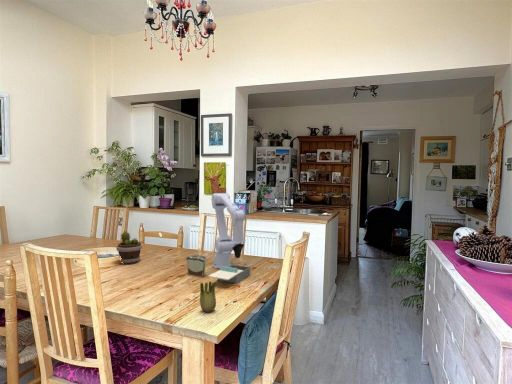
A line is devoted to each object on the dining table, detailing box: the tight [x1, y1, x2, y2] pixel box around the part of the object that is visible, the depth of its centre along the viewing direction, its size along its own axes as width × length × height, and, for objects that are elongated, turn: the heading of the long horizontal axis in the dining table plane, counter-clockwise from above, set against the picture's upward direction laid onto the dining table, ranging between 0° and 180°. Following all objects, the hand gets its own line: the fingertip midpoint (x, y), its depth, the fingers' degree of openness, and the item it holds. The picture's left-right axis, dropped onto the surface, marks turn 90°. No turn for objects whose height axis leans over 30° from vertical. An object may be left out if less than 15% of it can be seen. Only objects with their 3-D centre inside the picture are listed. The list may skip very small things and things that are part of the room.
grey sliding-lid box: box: [217, 264, 251, 285], centre depth 171 cm, size 11×16×4 cm
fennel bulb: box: [199, 280, 217, 313], centre depth 129 cm, size 6×5×12 cm
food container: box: [185, 254, 207, 278], centre depth 175 cm, size 12×6×10 cm, turn 65°
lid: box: [207, 266, 243, 280], centre depth 163 cm, size 11×16×2 cm
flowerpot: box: [115, 230, 143, 265], centre depth 197 cm, size 14×15×20 cm
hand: (237, 257), depth 174 cm, fingers closed
